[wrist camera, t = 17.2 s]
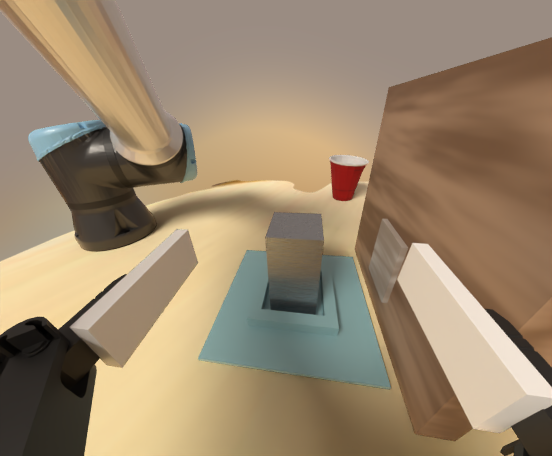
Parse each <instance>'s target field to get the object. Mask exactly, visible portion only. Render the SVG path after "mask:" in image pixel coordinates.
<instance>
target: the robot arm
mask: <svg viewBox="0 0 552 456" xmlns="http://www.w3.org/2000/svg"><path fill="white" fill-rule="evenodd" d="M0 12H1V13H2V14H3V15H4V16H5V17H6V18H7V19H8V21H9V22H10V23H11V24H12V25H13V26H14V27H15V28H16V29H17V30H18V31H19V32H20V33H21V35H22V36H23V37H24V38H25V39H26V40H27V41H28V42H29V43H30V44H31V45H32V46H33V47H34V49H36V51H37V52H38V53H39V54H40V55H41V56H42V57H43V58H44V59H45V60H46V62H47V63H48V64H49V65H50V66H51V67H52V68H53V69H54V70H55V71H56V72H57V73H58V75H59V76H60V77H61V78H62V79H63V80H64V81H65V82H66V83H67V84H68V85H69V86H70V87H71V89H72V90H73V91H74V92H75V93H76V94H77V95H78V96H79V97H80V98H81V99H82V100H83V101H84V103H85V104H86V105H87V106H88V107H89V108H90V109H91V110H92V111H93V112H94V113H95V114H96V116H97V117H98V118H99V119H100V120H92V121H85V122H78V123H70V124H64V125H58V126H52V127H47V128H42V129H37V130H34V131H32V132H31V133H30V134H29V136H28V140H29V143H30V145H31V147H32V149H33V150H34V153H35V155H36V157H37V160H38V161H39V162H40V163H41V164H42V166H43V168H44V169H45V171H46V172H47V174H48V175H49V177H50V178H51V180H52V182H53V183H54V185H55V186H56V188H57V190H58V191H59V193H60V194H61V196H62V197H63V199H64V200H65V202H66V204H67V205H68V207H69V209H70V210H71V212H72V218H73V225H74V230H75V238H76V240H77V242H78V243H79V245H80V246H81V248H83V249H84V250H88V251H103V250H109V249H114V248H118V247H121V246H125V245H128V244H130V243H133V242H135V241H137V240H139V239H141V238H143V237H145V236H146V235H148V234H149V233H150V232H152V231H153V230H154V228H155V227H156V221H155V218H154V216H153V214H152V213H151V212H150V211H149V210H148V209H147V207H146V206H145V205H144V204H143V203H142V202H141V201H140V199H139V198H138V197H137V196H136V194H135V191H134V189H133V187H140V186H149V185H157V184H167V183H175V182H180V183H183V182H184V181H189V180H193V179H195V178H196V176H197V165H196V160H195V159H196V158H195V151H194V145H193V139H192V134H191V130H190V128H189V126H188V125H185V124H184V125H183V124H182V123H181V124H179V123H178V121H177V120H176V119H175V118H174V117H173V116H172V115H171V114H169V113H168V112H167V111H165V110H164V109H163V107H162V104H161V102H160V100H159V98H158V95H157V93H156V91H155V89H154V87H153V84H152V82H151V79H150V77H149V75H148V73H147V70H146V68H145V66H144V64H143V61H142V59H141V57H140V55H139V52H138V50H137V48H136V45H135V43H134V41H133V38H132V36H131V34H130V32H129V29H128V27H127V25H126V23H125V20H124V18H123V16H122V13H121V11H120V9H119V7H118V5H117V2H116V0H0ZM197 264H198V261H197V258H196V254H195V251H194V248H193V245H192V241H191V238H190V235H189V232H188V230H184V229H176V230H175V231H174V232H173V233H172V234H171V235H170V236H169V237H168V238H166V239H165V240H164V241H163V242H162V243H161V244H160V245H159V246H158V247H157V248H156V249H154V250H153V251H152V252H151V253H150V254H149V255H148V256H147V257H146V258H145V259H144V260H142V261H141V262H140V263H139V264H138V265H137V266H136V267H135V268H134V269H133V270H131V271H130V272H129V273H128V274H125V275H123V276H121V277H120V278H118V279H116V280H115V281H113V282H112V283H111V284H110V285H108V286H107V287H106V288H105V289H104V291H103V292H101V293H99V294H98V295H97V296H96V298H95V299H93V300H91V301H90V302H89V303H88V304H87V305H86V306H85V307H84V308H82V309H81V310H80V311H79V312H78V313H77V314H76V315H75V316H73V317H72V318H71V319H70V320H69V321H68V322H67V323H65V324H64V325H63V326H62V327H61V328H60V329H57V328H56V327H54V326H53V325H52V324H51V323H50V322H49V321H48V320H47V319H46V318H44V317H35V318H31V319H27V320H25V321H23V322H20V323H18V324H16V325H15V326H13V327H11V328H10V329H8V330H6V331H5V332H4V333H3V334H1V335H0V456H84V452H85V445H86V438H87V432H88V425H89V418H90V412H91V405H92V398H93V392H94V385H95V378H96V371H97V370H96V366H95V365H94V364H95V363H96V362H97V361H98V360H99V358H100V359H101V360H102V361H103V362H104V363H105V364H106V365H109V366H115V367H120V368H123V366H124V365H125V364H126V362H127V361H128V359H129V358H130V357H131V355H132V354H133V352H134V351H135V350H136V348H137V347H138V346H139V344H140V343H141V341H142V340H143V339H144V337H145V336H146V334H147V333H148V332H149V330H150V329H151V327H152V326H153V325H154V323H155V322H156V321H157V319H158V318H159V316H160V315H161V314H162V312H163V311H164V309H165V308H166V307H167V305H168V304H169V302H170V301H171V300H172V298H173V297H174V295H175V294H176V293H177V291H178V290H179V289H180V287H181V286H182V284H183V283H184V282H185V280H186V279H187V277H188V276H189V275H190V273H191V272H192V270H193V269H194V268H195V266H196V265H197ZM397 280H398V282H399V284H400V286H401V288H402V290H403V292H404V294H405V296H406V298H407V299H408V301H409V303H410V305H411V307H412V309H413V311H414V313H415V315H416V317H417V319H418V321H419V323H420V325H421V327H422V329H423V331H424V333H425V335H426V337H427V339H428V341H429V343H430V345H431V347H432V349H433V351H434V353H435V355H436V357H437V359H438V361H439V363H440V364H441V366H442V368H443V370H444V372H445V374H446V376H447V378H448V380H449V382H450V384H451V386H452V388H453V390H454V392H455V394H456V396H457V398H458V400H459V402H460V404H461V406H462V408H463V410H464V412H465V414H466V416H467V418H468V420H469V422H470V424H471V426H472V427H473V429H478V430H484V431H489V432H495V433H501V432H503V431H505V430H507V429H509V428H511V427H512V429H513V430H514V432H515V434H516V435H517V437H518V438H519V439H518V440H516V441H514V442H512V443H510V444H508V445H505V446H503V447H502V449H501V451H500V453H502V454H503V455H504V456H506V455H509V454H511V453H513V452H514V456H552V367H551V366H550V365H549V364H548V363H547V362H546V360H545V359H544V358H543V357H542V356H541V355H540V354H539V353H538V352H536V351H535V350H534V348H533V346H532V345H531V344H530V343H529V342H528V341H527V340H526V339H523V336H522V335H521V334H520V333H519V331H518V330H517V329H516V328H515V327H514V326H513V325H512V324H511V323H510V322H509V321H508V320H506V319H505V318H504V317H502V316H501V315H500V314H498V313H497V312H495V311H494V310H493V309H484V308H483V307H482V306H481V305H480V304H479V302H478V301H477V300H476V299H475V298H474V297H473V295H472V294H471V293H470V292H469V291H468V290H467V289H466V287H465V286H464V285H463V284H462V283H461V282H460V280H459V279H458V278H457V277H456V276H455V275H454V274H453V272H452V271H451V270H450V269H449V268H448V267H447V265H446V264H445V263H444V262H443V261H442V260H441V258H440V257H439V256H438V255H437V254H436V253H435V252H434V250H433V249H432V248H431V247H430V246H429V245H428V244H422V243H412V245H411V248H410V250H409V252H408V255H407V257H406V260H405V262H404V264H403V267H402V269H401V272H400V274H399V276H398V279H397Z"/></svg>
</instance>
